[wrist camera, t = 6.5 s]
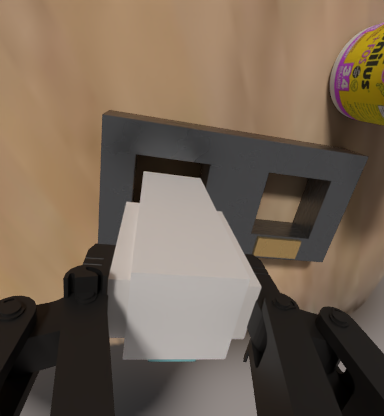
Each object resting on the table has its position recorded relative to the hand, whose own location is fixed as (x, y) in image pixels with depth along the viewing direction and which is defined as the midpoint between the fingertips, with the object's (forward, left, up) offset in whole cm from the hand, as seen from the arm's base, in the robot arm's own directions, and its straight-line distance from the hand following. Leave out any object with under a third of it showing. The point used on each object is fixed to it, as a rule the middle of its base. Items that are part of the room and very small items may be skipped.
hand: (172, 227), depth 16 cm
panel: (0, +5, -8) cm, 10 cm away
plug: (0, 0, -4) cm, 4 cm away
